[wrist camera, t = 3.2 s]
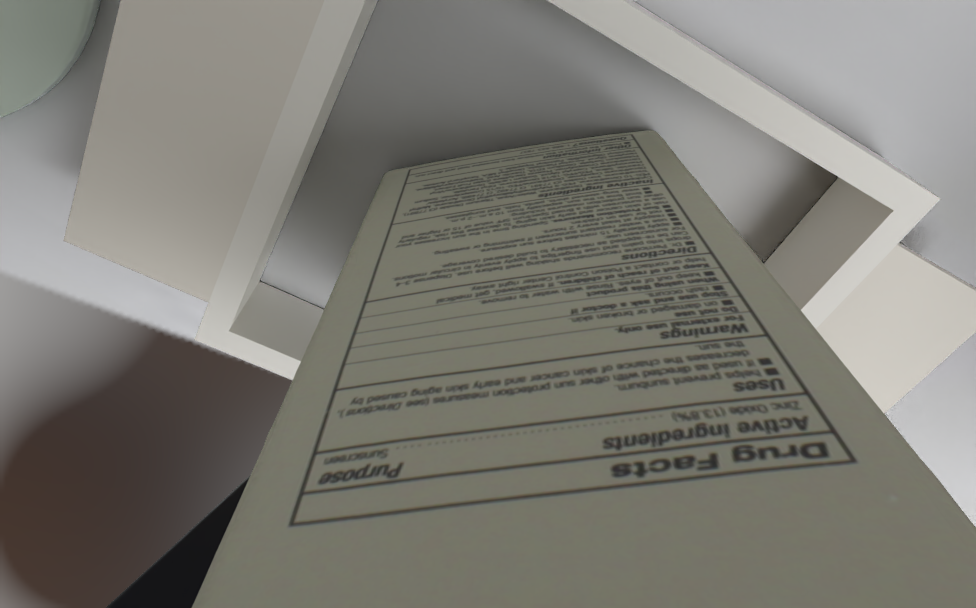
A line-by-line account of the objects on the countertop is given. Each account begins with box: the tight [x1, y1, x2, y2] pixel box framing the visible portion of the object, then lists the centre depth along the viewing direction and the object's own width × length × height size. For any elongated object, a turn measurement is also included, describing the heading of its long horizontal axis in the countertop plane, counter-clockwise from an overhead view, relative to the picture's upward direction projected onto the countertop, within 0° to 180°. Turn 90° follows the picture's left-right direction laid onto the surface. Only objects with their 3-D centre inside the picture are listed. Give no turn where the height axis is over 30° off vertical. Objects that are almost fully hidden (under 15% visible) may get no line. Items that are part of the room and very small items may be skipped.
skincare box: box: [192, 130, 976, 608], centre depth 11 cm, size 6×4×12 cm
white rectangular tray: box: [64, 0, 976, 414], centre depth 15 cm, size 18×10×2 cm, turn 61°
